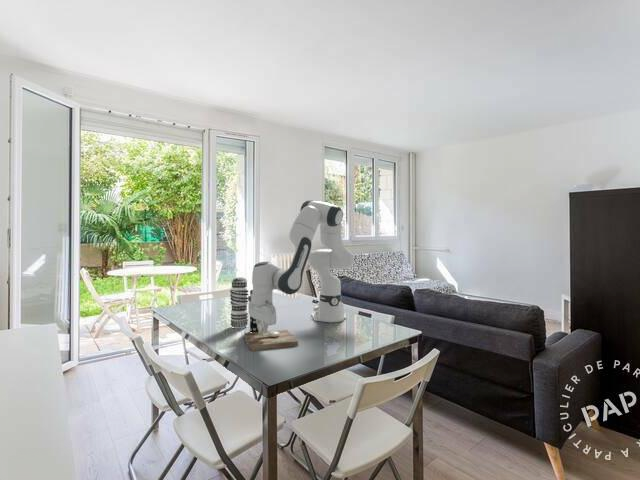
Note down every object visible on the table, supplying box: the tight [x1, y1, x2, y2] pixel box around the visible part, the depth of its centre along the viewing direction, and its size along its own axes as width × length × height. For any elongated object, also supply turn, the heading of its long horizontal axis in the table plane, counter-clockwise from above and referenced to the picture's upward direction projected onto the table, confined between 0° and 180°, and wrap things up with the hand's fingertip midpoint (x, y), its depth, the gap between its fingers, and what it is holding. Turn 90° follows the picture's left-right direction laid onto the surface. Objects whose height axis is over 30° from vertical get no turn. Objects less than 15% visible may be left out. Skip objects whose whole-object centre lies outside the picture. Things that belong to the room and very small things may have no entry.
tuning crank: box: [257, 322, 279, 337], centre depth 155 cm, size 10×4×6 cm, turn 114°
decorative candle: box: [229, 276, 250, 329], centre depth 178 cm, size 9×9×25 cm
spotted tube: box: [249, 289, 259, 333], centre depth 171 cm, size 8×8×20 cm
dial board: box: [243, 329, 299, 351], centre depth 155 cm, size 19×20×2 cm
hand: (262, 330), depth 153 cm, fingers open, 4 cm apart
